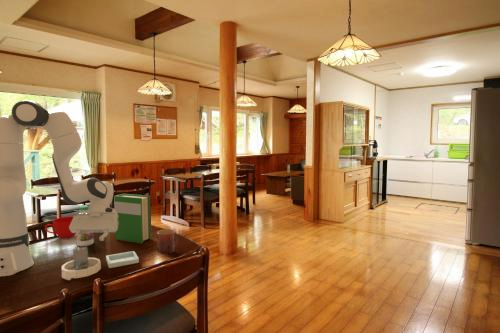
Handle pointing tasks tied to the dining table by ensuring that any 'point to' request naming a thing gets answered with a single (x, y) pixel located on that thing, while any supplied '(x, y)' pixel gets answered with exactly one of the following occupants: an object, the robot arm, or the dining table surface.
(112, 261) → the parts tray
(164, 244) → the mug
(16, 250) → the robot arm
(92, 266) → the bowl
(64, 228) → the ceramic cup
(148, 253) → the dining table surface
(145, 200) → the hardback book
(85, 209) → the milk bottle
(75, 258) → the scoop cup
